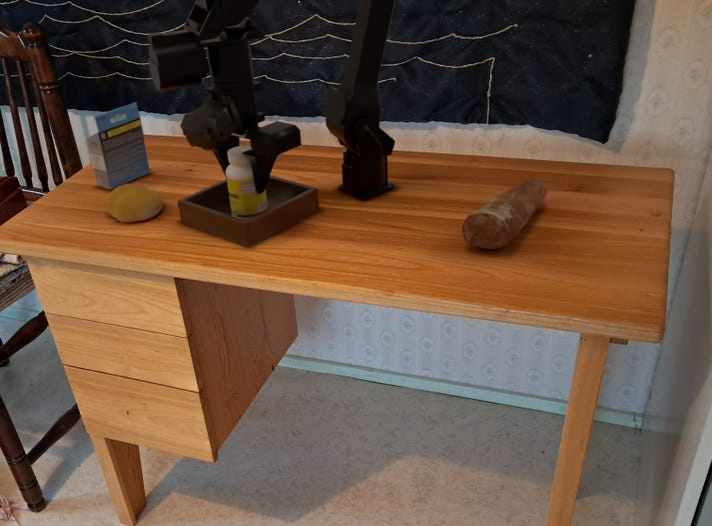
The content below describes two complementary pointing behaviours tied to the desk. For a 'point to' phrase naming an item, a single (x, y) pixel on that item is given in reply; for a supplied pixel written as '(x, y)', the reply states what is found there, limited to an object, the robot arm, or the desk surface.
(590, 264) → the desk surface
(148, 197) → the bread roll
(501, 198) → the salami
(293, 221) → the tray
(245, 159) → the supplement bottle
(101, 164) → the label tape box
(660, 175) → the desk surface
